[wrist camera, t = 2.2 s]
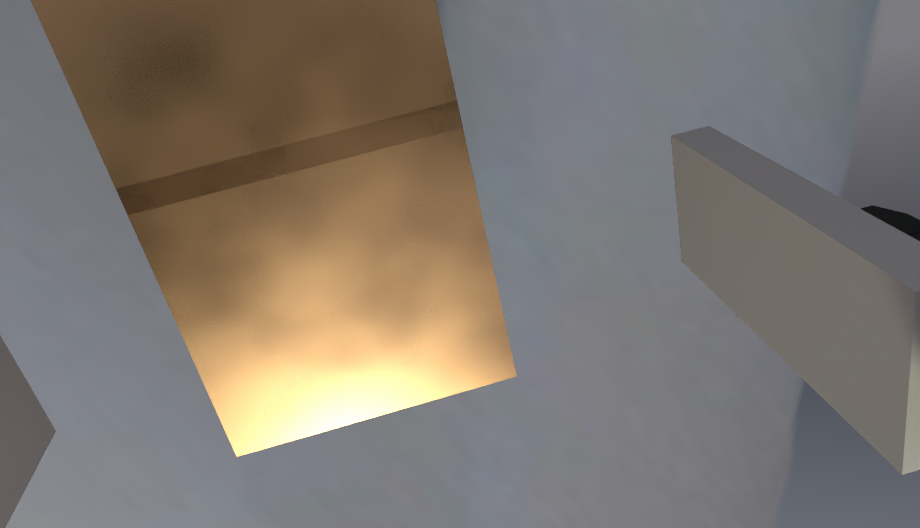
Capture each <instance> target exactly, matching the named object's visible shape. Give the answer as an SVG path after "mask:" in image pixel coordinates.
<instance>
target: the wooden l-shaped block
mask: <svg viewBox="0 0 920 528" xmlns="http://www.w3.org/2000/svg"><path fill="white" fill-rule="evenodd" d="M31 2H32V4H33V6H34V8H35V11H36V13H37V15H38V17H39V19H40V22H41V24H42V26H43V28H44V31H45V33H46V35H47V37H48V39H49V42H50V44H51V46H52V48H53V51H54V53H55V55H56V57H57V59H58V62H59V64H60V66H61V68H62V70H63V73H64V75H65V77H66V79H67V82H68V84H69V86H70V88H71V90H72V93H73V95H74V97H75V99H76V102H77V104H78V106H79V108H80V110H81V113H82V115H83V117H84V119H85V121H86V124H87V126H88V128H89V130H90V133H91V135H92V137H93V139H94V141H95V144H96V146H97V148H98V150H99V152H100V155H101V157H102V159H103V161H104V164H105V166H106V168H107V170H108V172H109V175H110V177H111V179H112V181H113V184H114V186H115V188H116V190H117V192H118V195H119V197H120V199H121V201H122V203H123V206H124V208H125V210H126V212H127V215H128V217H129V219H130V221H131V223H132V226H133V228H134V230H135V232H136V235H137V237H138V239H139V241H140V243H141V246H142V248H143V250H144V252H145V254H146V257H147V259H148V261H149V263H150V266H151V268H152V270H153V272H154V274H155V277H156V279H157V281H158V283H159V285H160V288H161V290H162V292H163V294H164V297H165V299H166V301H167V303H168V305H169V308H170V310H171V312H172V314H173V317H174V319H175V321H176V323H177V325H178V328H179V330H180V332H181V334H182V336H183V339H184V341H185V343H186V345H187V348H188V350H189V352H190V354H191V356H192V359H193V361H194V363H195V365H196V368H197V370H198V372H199V374H200V376H201V379H202V381H203V383H204V385H205V387H206V390H207V392H208V394H209V396H210V399H211V401H212V403H213V405H214V407H215V410H216V412H217V414H218V416H219V418H220V421H221V423H222V425H223V427H224V430H225V432H226V434H227V436H228V438H229V441H230V443H231V445H232V447H233V450H234V452H235V454H236V456H237V457H238V456H241V455H245V454H248V453H252V452H255V451H259V450H262V449H266V448H269V447H273V446H276V445H280V444H283V443H287V442H290V441H294V440H297V439H300V438H304V437H307V436H311V435H314V434H318V433H321V432H325V431H328V430H332V429H335V428H339V427H342V426H346V425H349V424H353V423H356V422H360V421H363V420H367V419H370V418H374V417H377V416H381V415H384V414H387V413H391V412H394V411H398V410H401V409H405V408H408V407H412V406H415V405H419V404H422V403H426V402H429V401H433V400H436V399H440V398H443V397H447V396H450V395H454V394H457V393H461V392H464V391H468V390H471V389H474V388H478V387H481V386H485V385H488V384H492V383H495V382H499V381H502V380H506V379H509V378H513V377H516V371H515V367H514V362H513V357H512V353H511V348H510V343H509V339H508V334H507V330H506V325H505V320H504V316H503V311H502V306H501V302H500V297H499V293H498V288H497V283H496V279H495V274H494V269H493V265H492V260H491V256H490V251H489V246H488V242H487V237H486V233H485V228H484V223H483V219H482V214H481V209H480V205H479V200H478V196H477V191H476V186H475V182H474V177H473V172H472V168H471V163H470V159H469V154H468V149H467V145H466V140H465V135H464V131H463V126H462V122H461V117H460V112H459V108H458V103H457V99H456V94H455V89H454V85H453V80H452V75H451V71H450V66H449V62H448V57H447V52H446V48H445V43H444V38H443V34H442V29H441V25H440V20H439V15H438V11H437V6H436V1H435V0H31Z"/></svg>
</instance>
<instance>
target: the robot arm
mask: <svg viewBox="0 0 920 528" xmlns="http://www.w3.org/2000/svg"><path fill="white" fill-rule="evenodd" d="M671 143H672V155H673V166H674V178H675V189H676V201H677V212H678V224H679V235H680V247H681V258H682V262H683V263H684V264H685V265H686V266H687V267H688V268H689V269H690V270H691V271H692V272H693V273H694V274H695V275H696V276H698V277H699V278H700V279H701V280H702V281H703V282H704V283H705V284H706V285H707V286H708V287H709V288H710V289H711V290H712V291H713V292H714V293H715V294H716V295H717V296H718V297H719V298H720V299H721V300H722V301H723V302H724V303H725V304H726V305H727V306H728V307H730V308H731V309H732V310H733V311H734V312H735V313H736V314H737V315H738V316H739V317H740V318H741V319H742V320H743V321H744V322H745V323H746V324H747V325H748V326H749V327H750V328H751V329H752V330H753V331H754V332H755V333H756V334H757V335H758V336H759V337H761V338H762V339H763V340H764V341H765V342H766V343H767V344H768V345H769V346H770V347H771V348H772V349H773V350H774V351H775V352H776V353H777V354H778V355H779V356H780V357H781V358H782V359H783V360H784V361H785V362H786V363H787V364H788V365H789V366H790V367H791V368H793V369H794V370H795V371H796V372H797V373H798V374H799V375H800V376H801V377H802V378H803V379H804V380H805V381H806V382H807V383H808V384H809V385H810V386H811V387H812V388H813V389H814V390H815V391H816V392H817V393H818V394H819V395H821V396H822V398H824V399H825V400H826V401H827V402H828V403H829V404H830V405H831V406H832V407H833V408H834V409H835V410H836V411H837V412H838V413H839V414H840V415H841V416H842V417H843V418H844V419H845V420H846V421H847V422H848V423H849V424H850V425H852V427H854V429H856V430H857V431H858V432H859V433H860V434H861V435H862V436H863V437H864V438H865V439H866V440H867V441H868V442H869V443H870V444H871V445H872V446H873V447H874V448H875V449H876V450H877V451H878V452H879V453H880V454H881V455H882V456H883V457H884V458H885V459H887V460H888V461H889V462H890V463H891V464H892V465H893V466H894V467H895V468H896V469H897V470H898V471H899V472H900V473H901V474H902V475H903V474H906V473H910V472H913V471H917V470H920V220H918V219H916V218H915V217H913V216H910V215H909V214H905V213H902V212H898V211H893V210H889V209H885V208H880V207H877V206H869V207H865V208H861V209H860V208H858V207H856V206H854V205H852V204H850V203H849V202H847V201H845V200H843V199H841V198H839V197H838V196H836V195H834V194H832V193H830V192H828V191H827V190H825V189H823V188H821V187H819V186H818V185H816V184H814V183H812V182H810V181H808V180H807V179H805V178H803V177H801V176H799V175H797V174H796V173H794V172H792V171H790V170H788V169H786V168H785V167H783V166H781V165H779V164H777V163H775V162H774V161H772V160H770V159H768V158H766V157H764V156H763V155H761V154H759V153H757V152H755V151H754V150H752V149H750V148H748V147H746V146H744V145H743V144H741V143H739V142H737V141H735V140H733V139H732V138H730V137H728V136H726V135H724V134H722V133H721V132H719V131H717V130H715V129H713V128H711V127H710V126H707V127H703V128H699V129H695V130H691V131H688V132H684V133H680V134H676V135H672V136H671ZM55 432H56V430H55V429H54V427H53V425H52V423H51V422H50V420H49V418H48V417H47V415H46V413H45V411H44V410H43V408H42V406H41V405H40V403H39V401H38V399H37V398H36V396H35V394H34V392H33V391H32V389H31V387H30V386H29V384H28V382H27V380H26V379H25V377H24V375H23V374H22V372H21V370H20V368H19V367H18V365H17V363H16V362H15V360H14V358H13V356H12V355H11V353H10V351H9V350H8V348H7V346H6V344H5V343H4V341H3V339H2V337H1V336H0V528H5V527H6V525H7V523H8V521H9V519H10V517H11V516H12V514H13V512H14V510H15V508H16V506H17V504H18V502H19V500H20V498H21V496H22V495H23V493H24V491H25V489H26V487H27V485H28V483H29V481H30V479H31V477H32V476H33V474H34V472H35V470H36V468H37V466H38V464H39V462H40V460H41V458H42V456H43V455H44V453H45V451H46V449H47V447H48V445H49V443H50V441H51V439H52V437H53V436H54V434H55Z"/></svg>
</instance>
